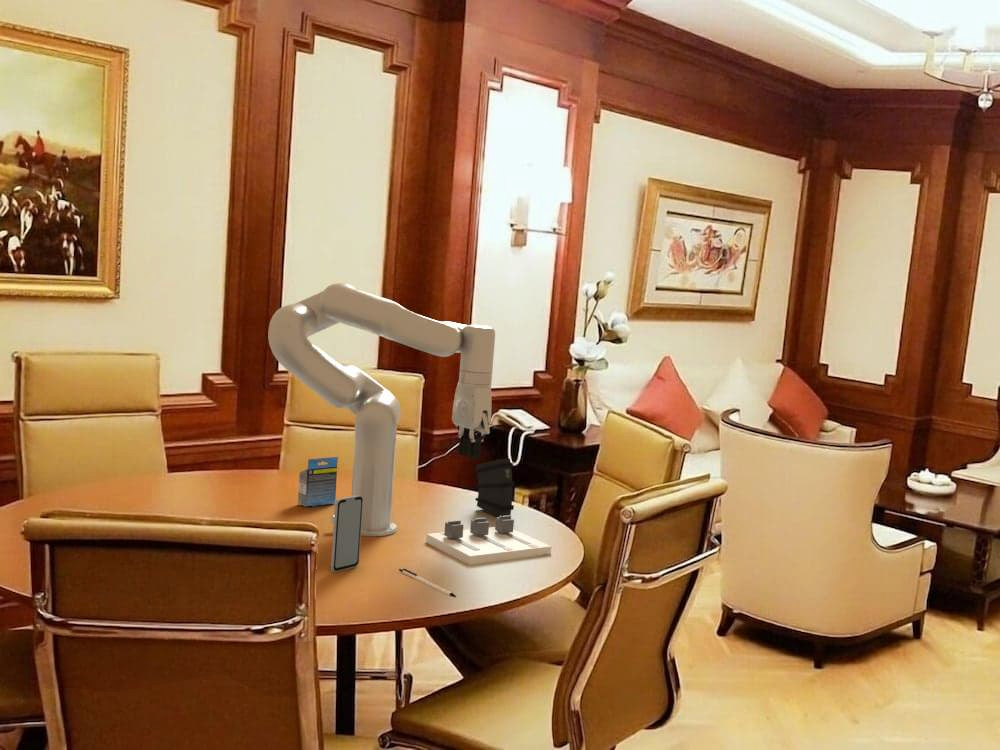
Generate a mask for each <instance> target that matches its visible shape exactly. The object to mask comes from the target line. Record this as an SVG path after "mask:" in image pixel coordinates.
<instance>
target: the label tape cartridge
mask: <svg viewBox="0 0 1000 750" xmlns="http://www.w3.org/2000/svg"><path fill="white" fill-rule="evenodd" d="M338 459H339V456H334V457H333V456H332V457H319V458H308V459H307V469H304V470H302V471H300V472H299V478H298V480H299V481H298V495H297V496H298V497H297V498H298V499H297V504H298V503H299V504H301V505H303V506H305V507H304V508H309V507H308V506H312V507H316V506H317V507H318V505H319V506H326V504H327V505H335V504H334V503H335V502H336V500H337V499H336V498H337V497H336V496H337V495H336V494H337V492H336V491H337V478H338V477H337V475H338ZM322 462H323V463H325V464H320V463H322ZM299 504H298V505H299ZM301 505H300V506H301ZM303 506H302V507H303ZM306 506H307V507H306Z"/></svg>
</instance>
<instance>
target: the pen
mask: <svg viewBox="0 0 1000 750" xmlns="http://www.w3.org/2000/svg"><path fill="white" fill-rule="evenodd" d="M398 570H399V571H400V572H401V573H402V574H404V575H406V576H409V577H411V578H413V579H415V580H417V581H418V582H421V583H423V584H426V585H427V586H429V587H430V588H434V589H436V590H438V591H440V592H442V593H444V594H446V595H447V596H450V597H453V598H456V599H457V598H458V597H457V596H456V595H455V594H454V593H453V592H452V591H449V590H447V589H445V588H444V587H442V586H439V585H437V584H435V583H433V582H431V581H428V580H427V579H425V578H423V577H422V576H419V575H418V574H417V573H415V572H413V571H411V570H409V569H407V568H399V569H398Z"/></svg>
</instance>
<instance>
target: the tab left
mask: <svg viewBox="0 0 1000 750" xmlns="http://www.w3.org/2000/svg"><path fill="white" fill-rule="evenodd" d="M463 530H464V524H463V523H462V520H460V519H457V520H456V519H455V520H448V521H446V522H445V523H444V531H443V532H444V535H445V536H447V537H449V538H451V539H454V538H463Z"/></svg>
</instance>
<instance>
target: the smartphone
mask: <svg viewBox="0 0 1000 750" xmlns="http://www.w3.org/2000/svg"><path fill="white" fill-rule="evenodd" d="M362 511H363V497H362V496H360V495H356V496H352V495H351V496H347V497H346V496H345V497H341V498H337V499H335V504H334V524H333V527H332V531H333V532H332V545H331V560H330V561H331V562H330V569H331V570H330V571H332V572H334V573H337V572H341V571H345V570H350V569H353V568H357V567H358V566H359V563H360V553H361V551H360V550H361V539H362V536H361V526H362Z"/></svg>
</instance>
